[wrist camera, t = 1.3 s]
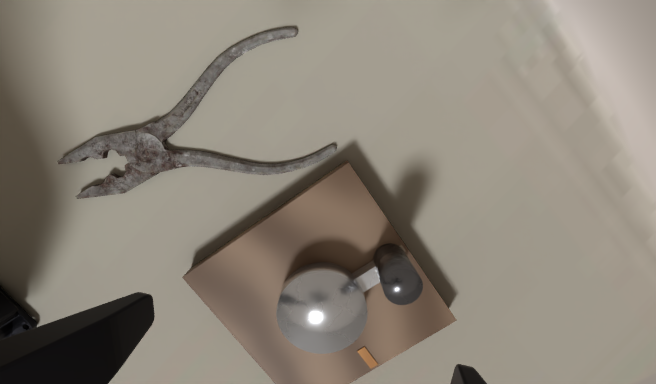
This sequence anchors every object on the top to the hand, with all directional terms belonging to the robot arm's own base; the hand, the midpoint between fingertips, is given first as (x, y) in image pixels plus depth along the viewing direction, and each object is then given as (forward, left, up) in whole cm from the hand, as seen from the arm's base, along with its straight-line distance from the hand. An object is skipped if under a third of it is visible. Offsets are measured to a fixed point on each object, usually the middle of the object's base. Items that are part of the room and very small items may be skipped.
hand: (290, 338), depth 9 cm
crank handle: (-1, -6, -13) cm, 15 cm away
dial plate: (-3, -6, -15) cm, 17 cm away
